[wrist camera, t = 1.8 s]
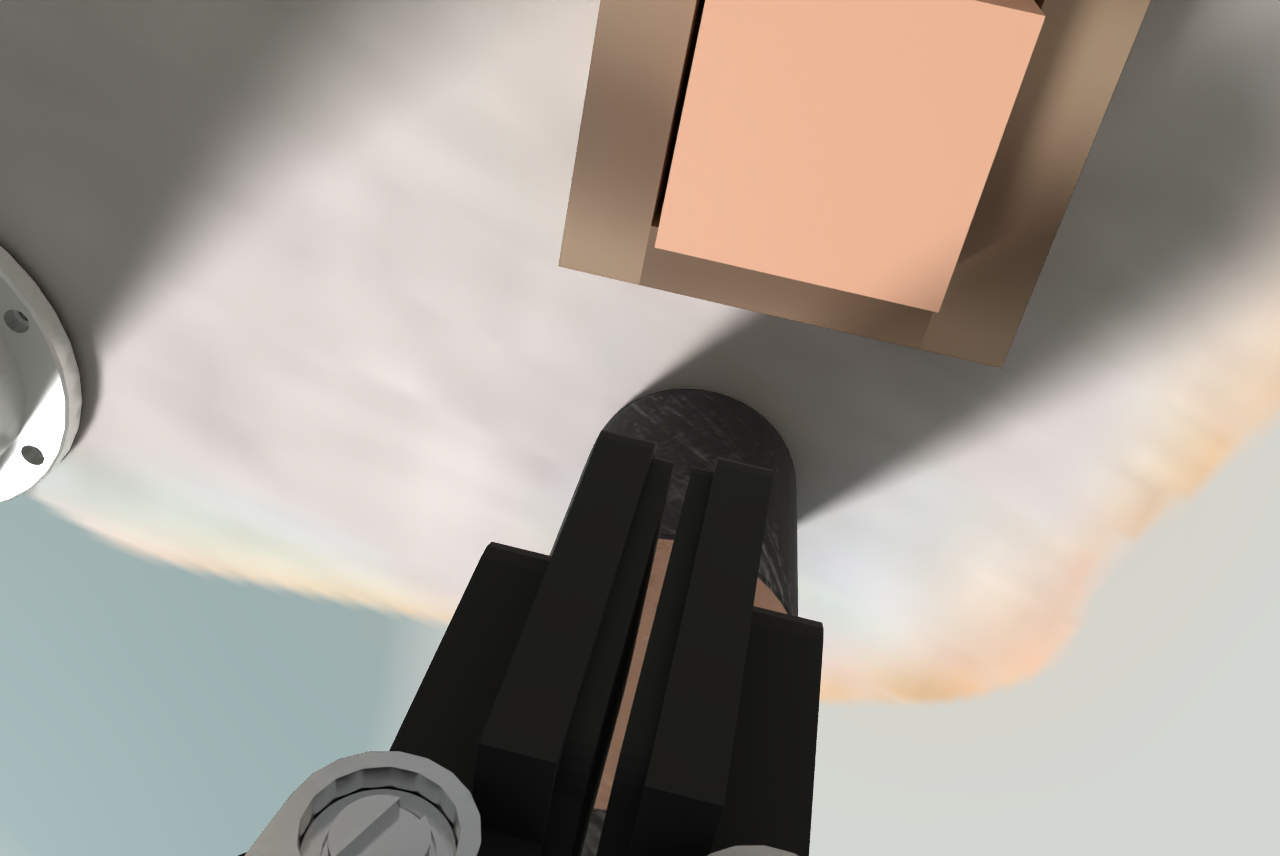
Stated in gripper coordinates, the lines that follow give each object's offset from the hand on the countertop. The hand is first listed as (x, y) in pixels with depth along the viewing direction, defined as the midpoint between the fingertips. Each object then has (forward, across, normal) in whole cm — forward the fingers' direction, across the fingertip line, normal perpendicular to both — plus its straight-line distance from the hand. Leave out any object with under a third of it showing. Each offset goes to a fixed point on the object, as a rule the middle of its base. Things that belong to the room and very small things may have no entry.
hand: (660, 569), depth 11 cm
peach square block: (+22, -1, +1) cm, 22 cm away
